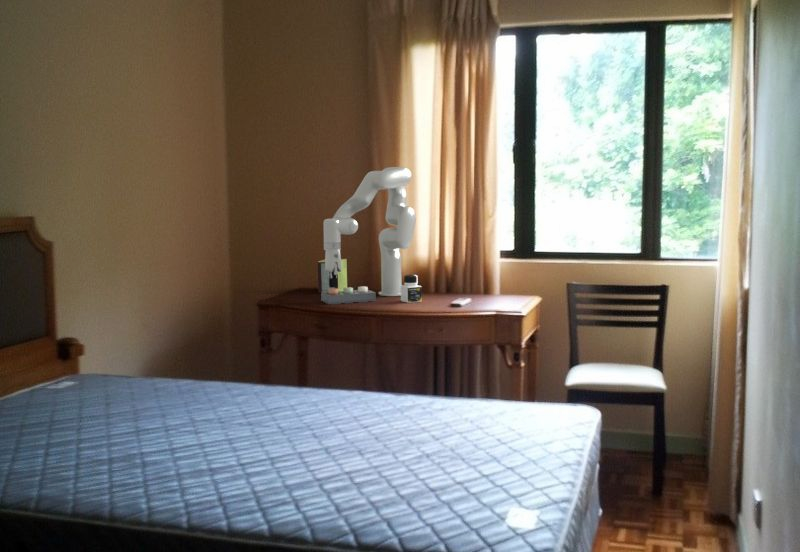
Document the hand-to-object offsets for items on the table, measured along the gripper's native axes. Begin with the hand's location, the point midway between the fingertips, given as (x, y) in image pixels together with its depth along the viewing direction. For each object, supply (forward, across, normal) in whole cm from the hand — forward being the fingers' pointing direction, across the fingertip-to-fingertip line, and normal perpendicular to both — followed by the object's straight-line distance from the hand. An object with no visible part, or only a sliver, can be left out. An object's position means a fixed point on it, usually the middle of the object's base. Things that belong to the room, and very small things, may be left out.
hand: (333, 287), depth 390 cm
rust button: (+4, 0, 0) cm, 4 cm away
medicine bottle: (+7, -14, -32) cm, 36 cm away
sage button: (+4, 0, -7) cm, 8 cm away
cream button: (+4, 0, -14) cm, 15 cm away
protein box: (+7, +36, -11) cm, 38 cm away
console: (+7, 0, -7) cm, 10 cm away
